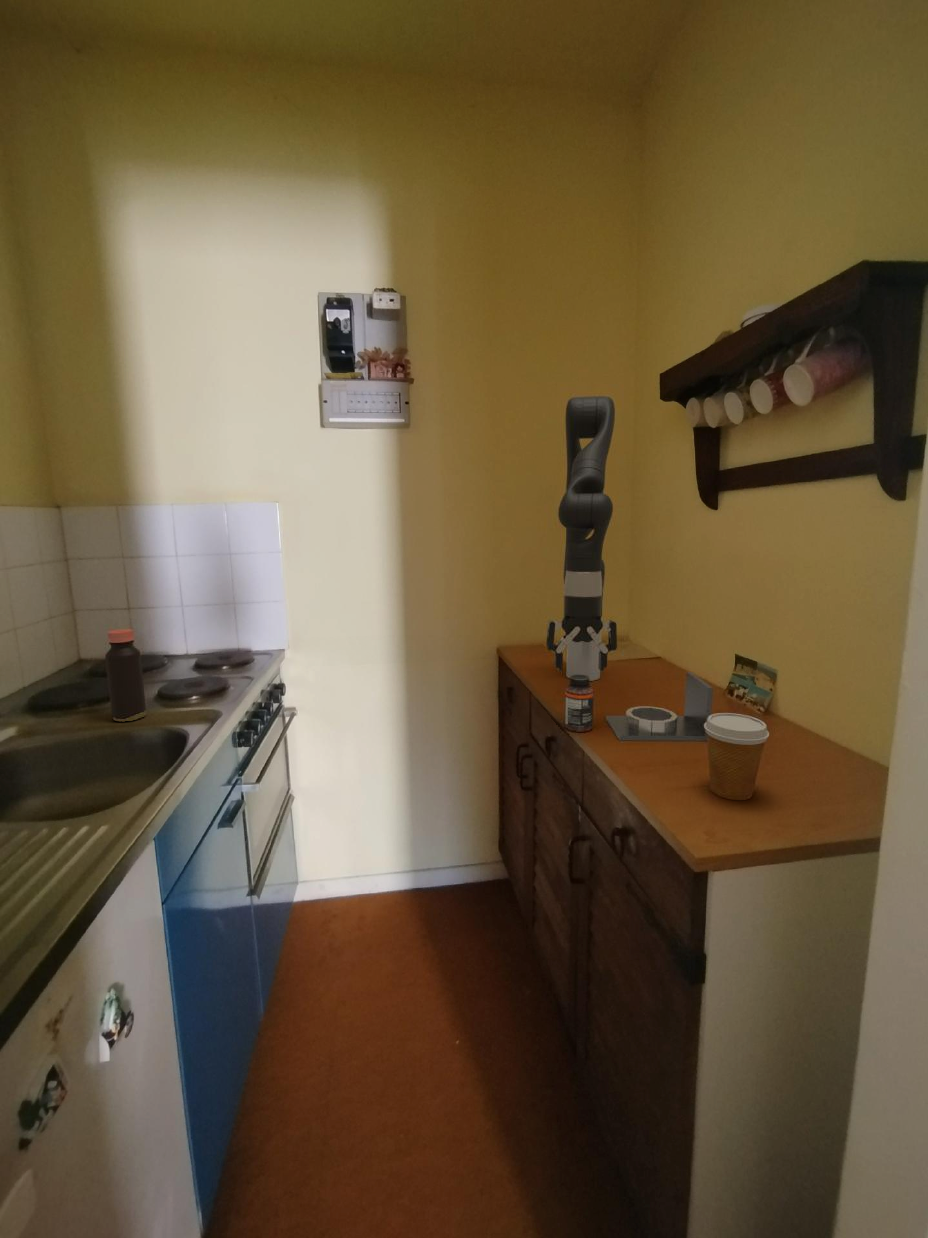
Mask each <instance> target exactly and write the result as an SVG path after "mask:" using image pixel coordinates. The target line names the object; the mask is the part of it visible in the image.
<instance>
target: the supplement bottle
mask: <svg viewBox="0 0 928 1238" xmlns="http://www.w3.org/2000/svg"><path fill="white" fill-rule="evenodd" d="M590 682H591V681H589V677H588V676H586V675H572V676H570V678H569V683H568V685H567V686H565V691H564V693H565V694H564V716H563V717H564V726H565V728H566V730H569V731H571V732H575V733H585V732H589V731H591V730H592V729H593V727H594V700H595V699H594V697H595V695H594V694H595V691H594V690H595V689H594V688H593V686H591V685H590Z"/></svg>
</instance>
